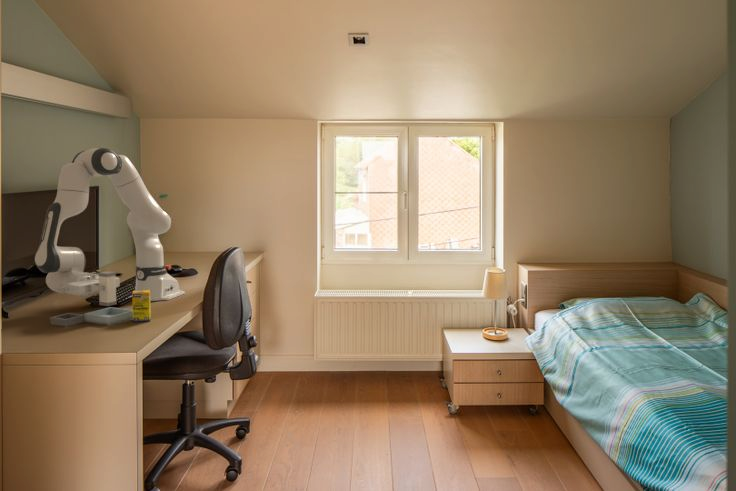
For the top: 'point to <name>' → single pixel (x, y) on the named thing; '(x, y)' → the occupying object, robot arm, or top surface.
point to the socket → (67, 319)
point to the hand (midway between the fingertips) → (109, 287)
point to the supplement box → (141, 306)
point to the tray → (108, 316)
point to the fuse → (107, 288)
